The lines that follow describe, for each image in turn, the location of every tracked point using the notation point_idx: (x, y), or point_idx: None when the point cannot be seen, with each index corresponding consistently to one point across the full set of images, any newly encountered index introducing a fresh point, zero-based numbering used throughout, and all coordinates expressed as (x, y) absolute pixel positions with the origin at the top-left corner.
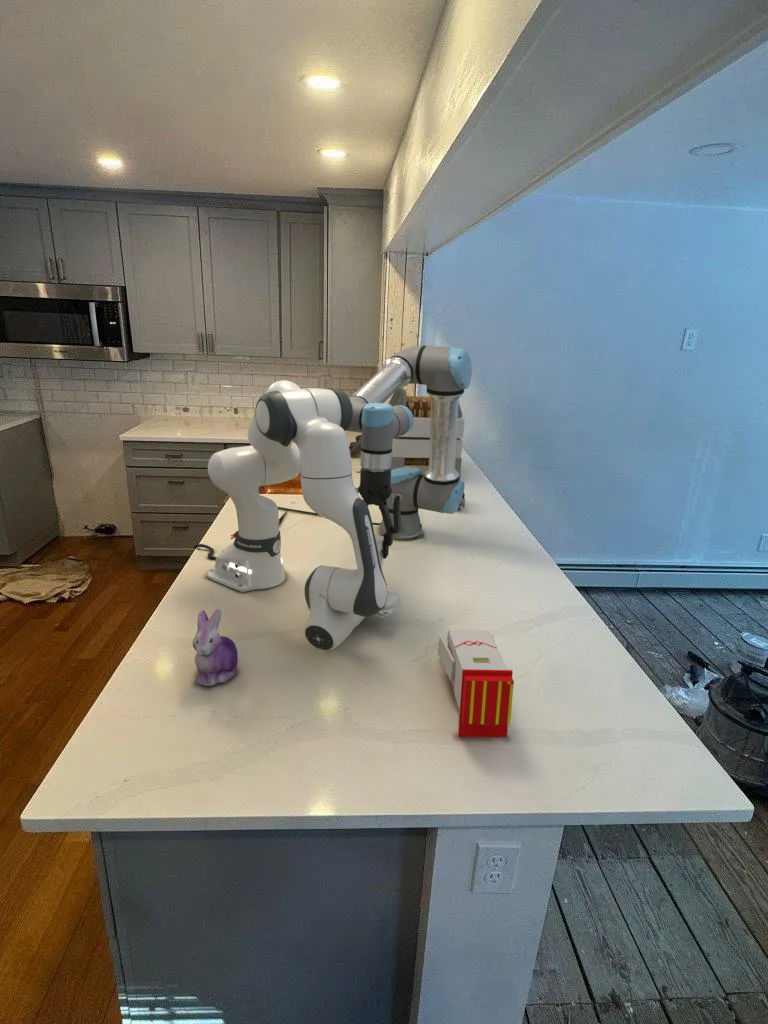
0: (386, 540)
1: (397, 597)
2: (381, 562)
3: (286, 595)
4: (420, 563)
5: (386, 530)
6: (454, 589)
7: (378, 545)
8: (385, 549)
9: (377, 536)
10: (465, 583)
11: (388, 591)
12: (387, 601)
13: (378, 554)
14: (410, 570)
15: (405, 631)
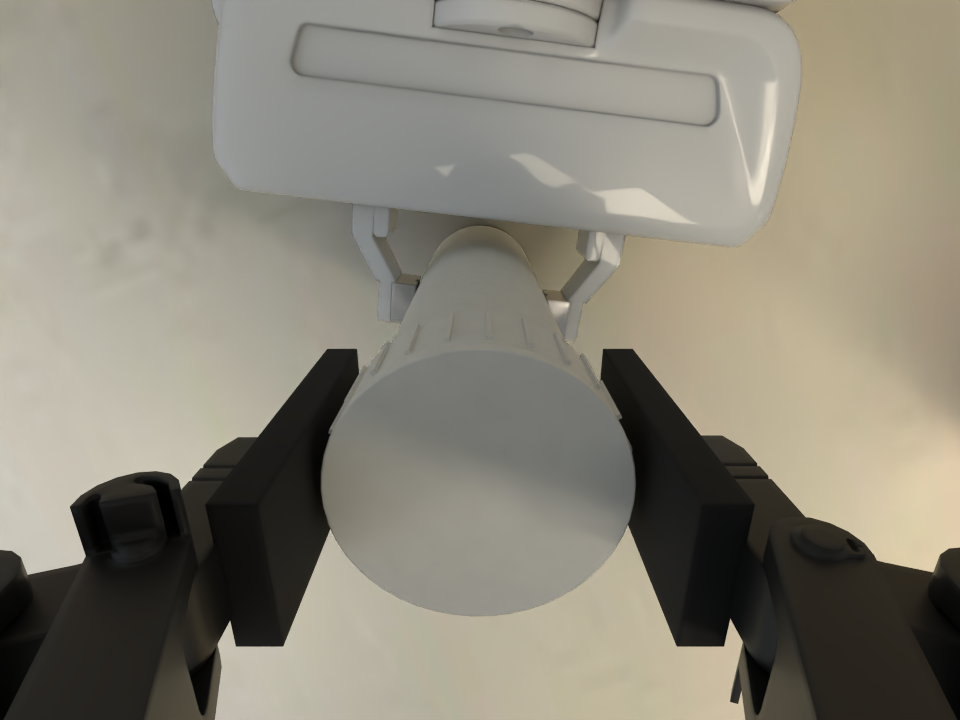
0: (247, 454)
1: (214, 113)
2: None
3: (936, 225)
4: (387, 695)
5: (172, 573)
6: None
7: (368, 380)
8: (300, 390)
9: (448, 573)
10: None
11: (307, 179)
12: (251, 10)
13: None
14: (408, 633)
15: None
